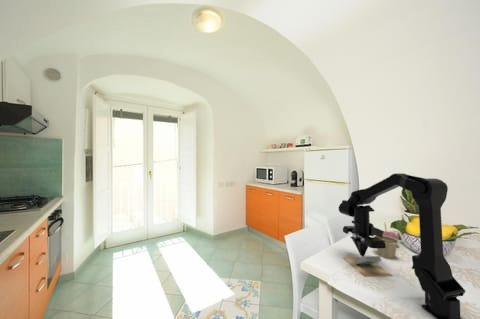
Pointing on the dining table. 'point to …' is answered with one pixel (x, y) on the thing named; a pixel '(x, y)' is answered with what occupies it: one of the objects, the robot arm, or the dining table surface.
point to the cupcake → (390, 234)
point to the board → (368, 268)
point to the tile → (367, 260)
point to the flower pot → (388, 247)
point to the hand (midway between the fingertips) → (362, 255)
